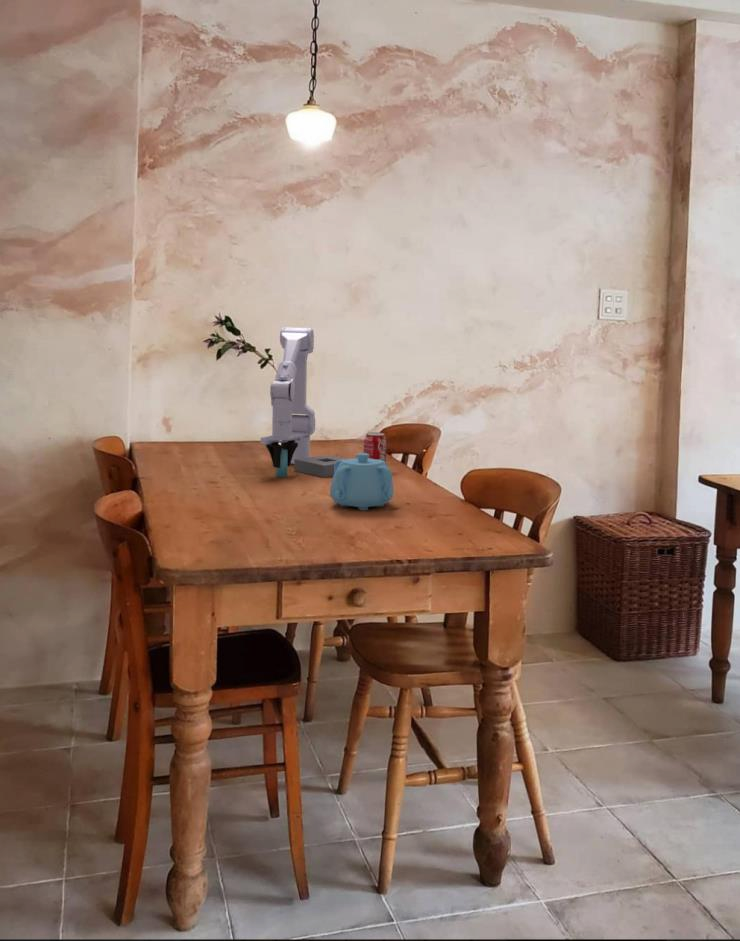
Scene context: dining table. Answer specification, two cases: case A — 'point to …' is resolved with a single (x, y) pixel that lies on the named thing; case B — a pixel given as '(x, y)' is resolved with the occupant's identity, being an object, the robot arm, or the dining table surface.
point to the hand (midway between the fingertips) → (281, 466)
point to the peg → (283, 464)
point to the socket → (317, 465)
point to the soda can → (375, 445)
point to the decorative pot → (362, 482)
